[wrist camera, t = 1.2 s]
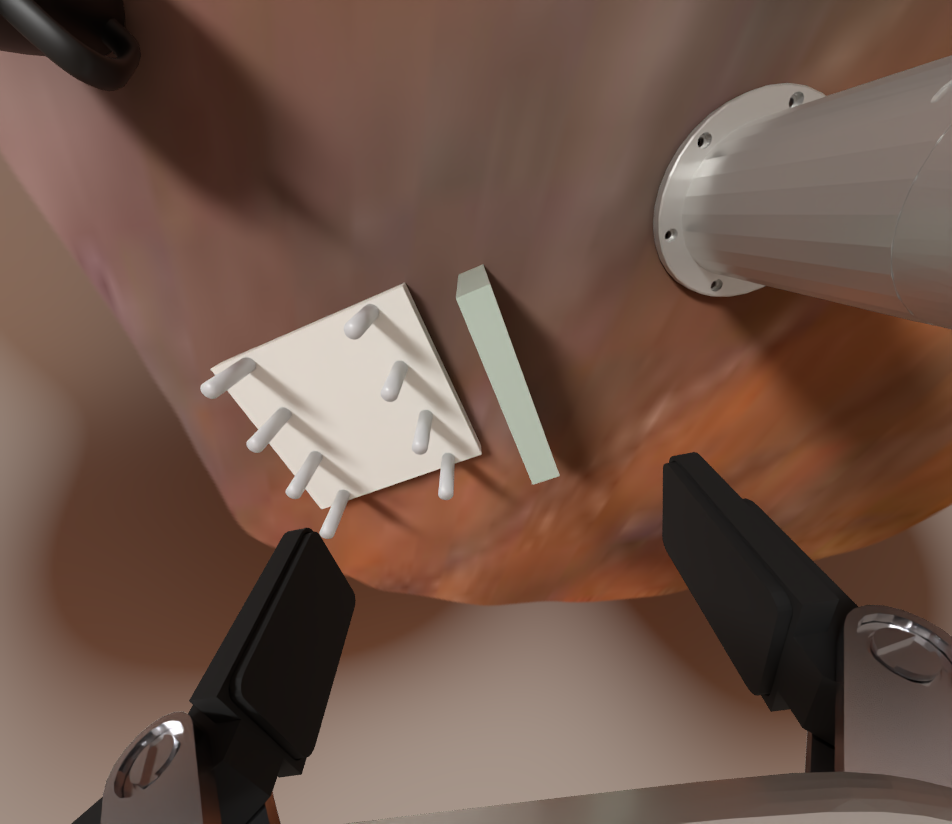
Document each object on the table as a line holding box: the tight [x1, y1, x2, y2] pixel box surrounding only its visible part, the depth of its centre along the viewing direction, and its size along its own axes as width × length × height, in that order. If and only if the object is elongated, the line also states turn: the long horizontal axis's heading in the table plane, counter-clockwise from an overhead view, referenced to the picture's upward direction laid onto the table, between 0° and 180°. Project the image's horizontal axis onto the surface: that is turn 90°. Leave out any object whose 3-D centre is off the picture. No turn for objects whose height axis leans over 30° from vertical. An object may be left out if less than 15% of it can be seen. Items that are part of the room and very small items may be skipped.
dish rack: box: [201, 283, 482, 539], centre depth 30 cm, size 17×16×6 cm
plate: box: [456, 265, 560, 484], centre depth 27 cm, size 14×2×9 cm, turn 22°
